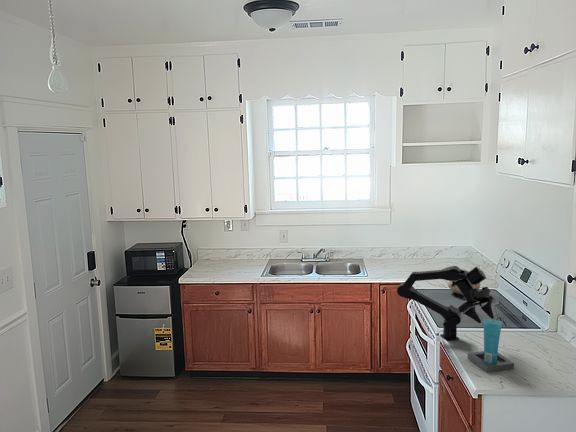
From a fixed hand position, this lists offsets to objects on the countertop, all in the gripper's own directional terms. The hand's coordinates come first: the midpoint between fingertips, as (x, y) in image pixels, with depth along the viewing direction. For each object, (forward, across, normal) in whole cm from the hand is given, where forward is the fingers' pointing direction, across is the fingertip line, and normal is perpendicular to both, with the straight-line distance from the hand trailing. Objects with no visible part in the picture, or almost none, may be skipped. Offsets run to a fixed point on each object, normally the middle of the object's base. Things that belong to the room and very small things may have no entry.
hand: (486, 320), depth 216 cm
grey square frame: (+16, -10, +3) cm, 20 cm away
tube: (+16, -10, +3) cm, 20 cm away
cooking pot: (-29, +56, +48) cm, 80 cm away
